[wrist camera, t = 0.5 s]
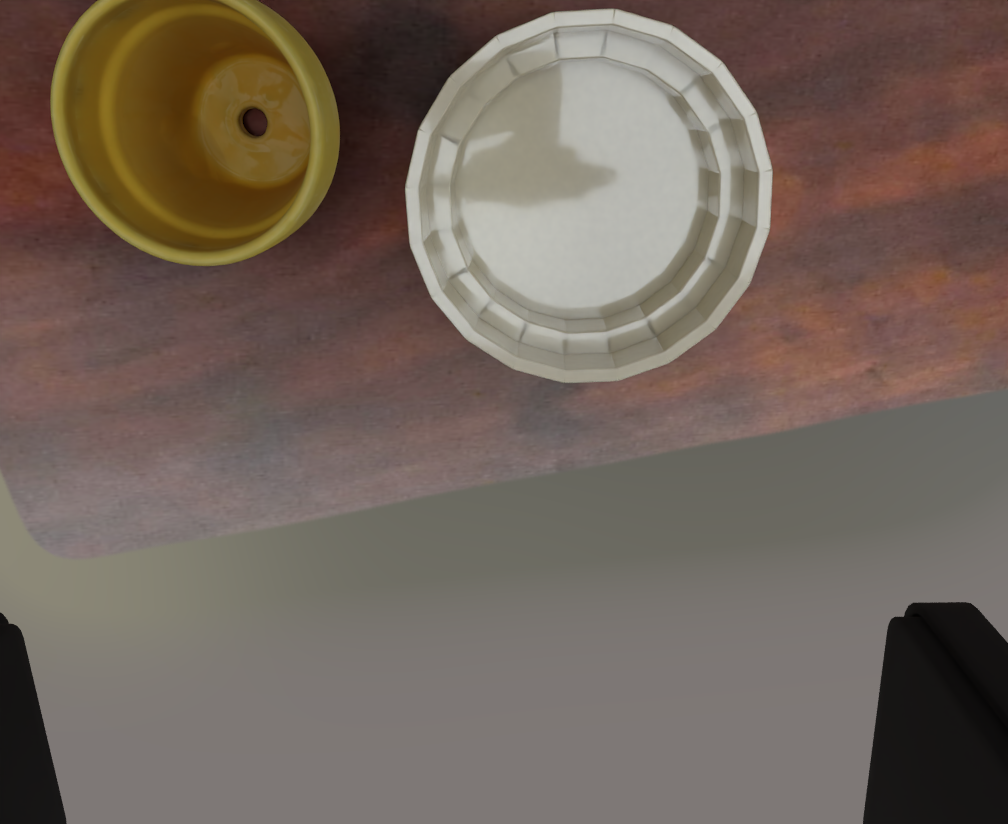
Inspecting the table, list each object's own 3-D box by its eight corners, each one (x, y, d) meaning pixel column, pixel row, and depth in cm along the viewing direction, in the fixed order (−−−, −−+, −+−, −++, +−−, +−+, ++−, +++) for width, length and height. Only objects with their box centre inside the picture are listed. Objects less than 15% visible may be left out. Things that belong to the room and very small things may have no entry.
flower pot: (149, 214, 44) (46, 243, 35) (156, -14, 40) (44, -51, 31) (358, 249, 44) (311, 287, 35) (382, 25, 41) (337, 1, 31)
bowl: (410, 32, 41) (390, 20, 35) (746, 13, 40) (781, -2, 34) (435, 353, 46) (421, 389, 40) (734, 342, 45) (763, 376, 39)
